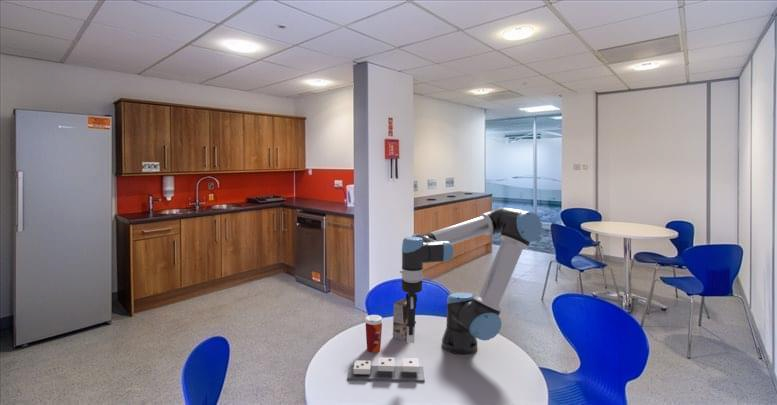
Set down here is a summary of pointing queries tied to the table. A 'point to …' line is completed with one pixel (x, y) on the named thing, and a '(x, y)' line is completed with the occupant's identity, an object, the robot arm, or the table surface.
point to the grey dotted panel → (388, 375)
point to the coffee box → (400, 319)
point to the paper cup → (373, 332)
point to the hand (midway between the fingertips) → (410, 341)
